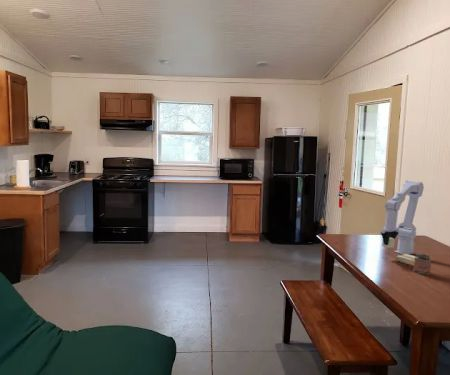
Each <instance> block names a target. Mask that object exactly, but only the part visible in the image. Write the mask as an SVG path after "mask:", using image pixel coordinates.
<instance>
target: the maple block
mask: <svg viewBox="0 0 450 375" xmlns="http://www.w3.org/2000/svg"><path fill="white" fill-rule="evenodd" d="M395 257H396V258H395V261H396V260H397V262H399V261H400V262H399V263H404V264H406V265H409V266H413V267H414V261H415V259H414V258H415V257H416V256H415V255H413V254H398V255H397V256H395Z"/></svg>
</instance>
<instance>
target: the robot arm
mask: <svg viewBox="0 0 450 375" xmlns="http://www.w3.org/2000/svg"><path fill="white" fill-rule="evenodd" d="M424 188H425V187H424V183H423V182H421V181H420V182H419V181H411V180H405V181H404V183H403V186H402V189H401V190H400V192H396V194H395V195H394V196H393V197H392V198H391V199H388V200H386V202H385V205H384V208H385V213H386V214H385V223H384V226H383V228H381V229H380V234H381V237H382V243H383V242H384V244H385V245H388V242H389V238H390V237H391V238H394V239H395V240H396V238H398V242H397V248H396V249H397V250H394V252H395V253H398V254H399V255H403V254H409V255H413V254H415V252H414V248H415V241H414V239H415V238H416V236H417V235H416V234H417V227H416V226H415V225H414V224H413V222H414V218H415V215H416V214H415V213H416V210H417V206H418V202H419V198H421V197H422V195H423V192H424ZM407 196H409V198H408V203H407V206H406V211H405V214H404V217H403V221H402V222H401V223H398V226H397V220H398V212H399V211H400V209H401V206H402V204H403V203H404V202H405V200H406V197H407Z"/></svg>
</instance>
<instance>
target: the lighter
mask: <svg viewBox="0 0 450 375" xmlns="http://www.w3.org/2000/svg"><path fill="white" fill-rule="evenodd" d="M414 259H415V261H414V265H413V269H412V272H413V273H416V274H421V275H429V276H430V275H431V265H432V262H433V261H432V259H430V255H429V254H426V253H423V254H422V253H418V252H417V253H416V256H415V258H414Z"/></svg>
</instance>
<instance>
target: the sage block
mask: <svg viewBox="0 0 450 375" xmlns="http://www.w3.org/2000/svg"><path fill="white" fill-rule="evenodd" d="M395 240H396V238H395V239H394V238H391V237H390V238H389V242H388V245H385V244H384V242H383V241H382V244H381V245H382V247H384V248H388V249H391V248H395V243H396V242H395Z"/></svg>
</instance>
